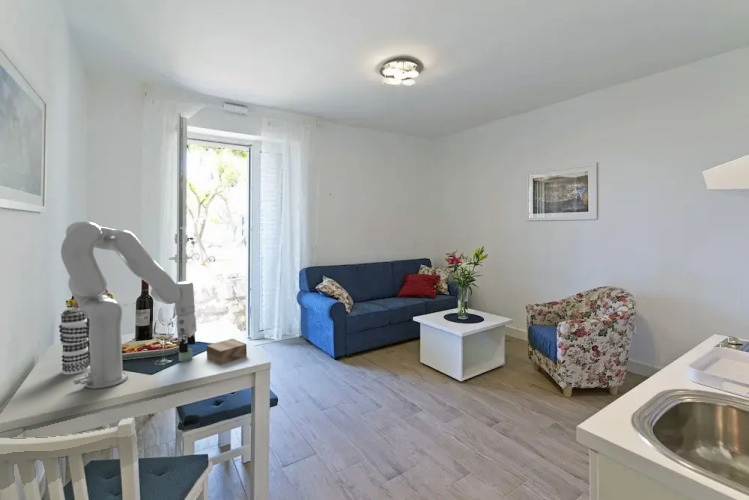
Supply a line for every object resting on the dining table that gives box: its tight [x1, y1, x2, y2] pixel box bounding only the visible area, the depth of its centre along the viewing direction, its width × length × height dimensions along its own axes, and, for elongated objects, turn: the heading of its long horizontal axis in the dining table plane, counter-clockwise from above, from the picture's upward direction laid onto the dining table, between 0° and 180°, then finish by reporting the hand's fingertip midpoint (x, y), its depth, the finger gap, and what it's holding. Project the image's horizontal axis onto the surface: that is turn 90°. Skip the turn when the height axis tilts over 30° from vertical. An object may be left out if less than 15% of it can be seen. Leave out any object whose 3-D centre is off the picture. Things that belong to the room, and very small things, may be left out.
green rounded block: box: [178, 347, 194, 363], centre depth 152 cm, size 5×5×4 cm
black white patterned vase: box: [58, 307, 90, 375], centre depth 140 cm, size 9×9×25 cm
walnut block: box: [206, 338, 248, 365], centre depth 155 cm, size 12×12×6 cm
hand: (187, 348), depth 152 cm, fingers open, 9 cm apart
